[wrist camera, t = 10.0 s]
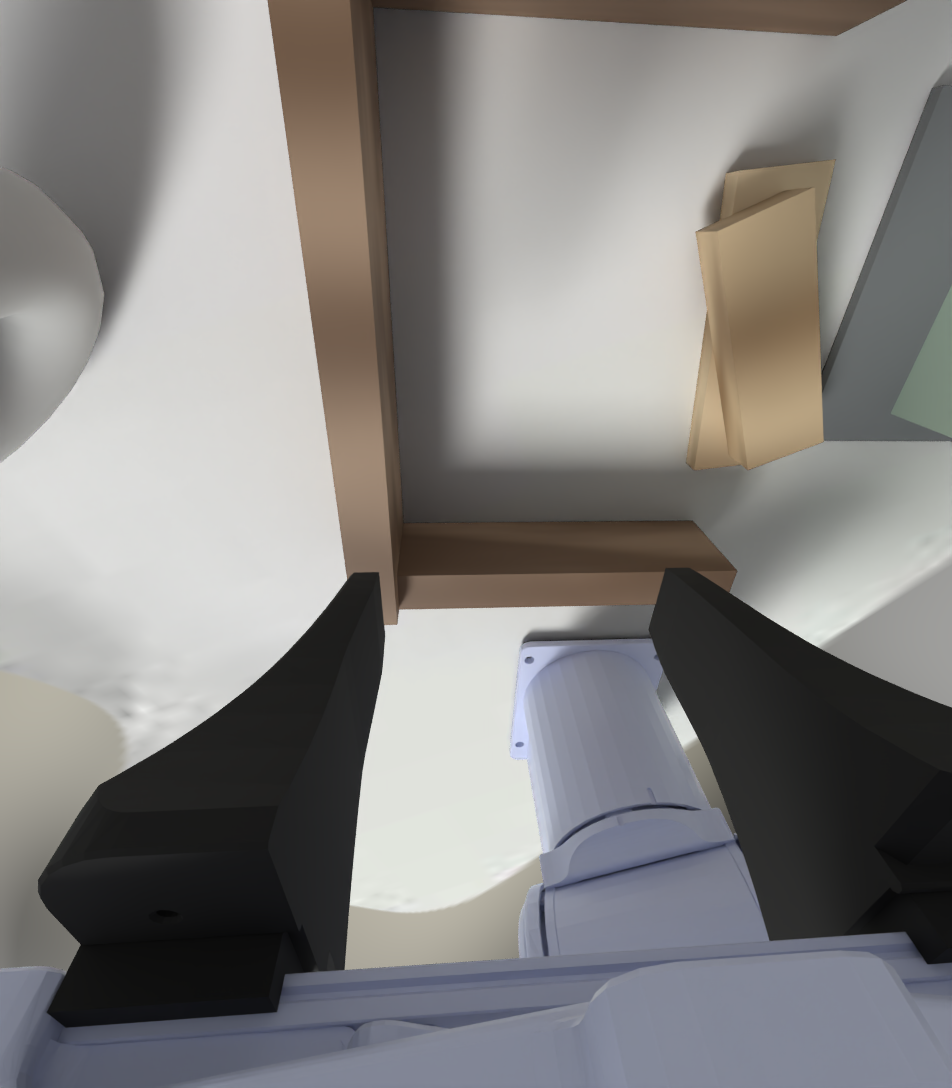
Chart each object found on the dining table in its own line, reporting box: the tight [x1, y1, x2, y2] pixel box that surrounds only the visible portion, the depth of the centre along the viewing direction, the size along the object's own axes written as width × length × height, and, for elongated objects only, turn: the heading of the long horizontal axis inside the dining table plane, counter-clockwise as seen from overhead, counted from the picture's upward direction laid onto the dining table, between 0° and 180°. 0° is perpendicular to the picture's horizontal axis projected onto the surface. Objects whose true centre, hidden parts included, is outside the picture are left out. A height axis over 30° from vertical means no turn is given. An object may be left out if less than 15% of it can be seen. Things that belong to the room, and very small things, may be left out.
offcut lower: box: [686, 159, 836, 470], centre depth 18 cm, size 10×3×2 cm, turn 6°
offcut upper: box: [696, 187, 824, 470], centre depth 17 cm, size 8×3×2 cm, turn 23°
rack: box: [268, 0, 907, 625], centre depth 16 cm, size 19×15×5 cm
